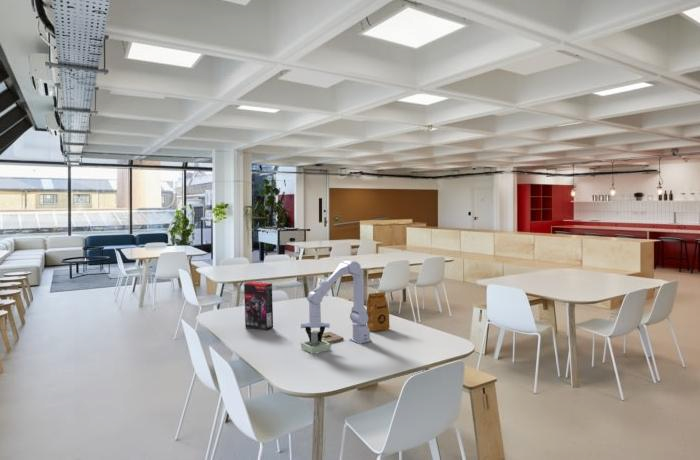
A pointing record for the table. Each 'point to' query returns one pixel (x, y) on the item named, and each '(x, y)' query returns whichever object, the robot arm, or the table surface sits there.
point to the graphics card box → (258, 305)
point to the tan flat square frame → (331, 337)
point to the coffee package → (377, 312)
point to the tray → (320, 348)
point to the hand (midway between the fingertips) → (315, 341)
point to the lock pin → (315, 338)
